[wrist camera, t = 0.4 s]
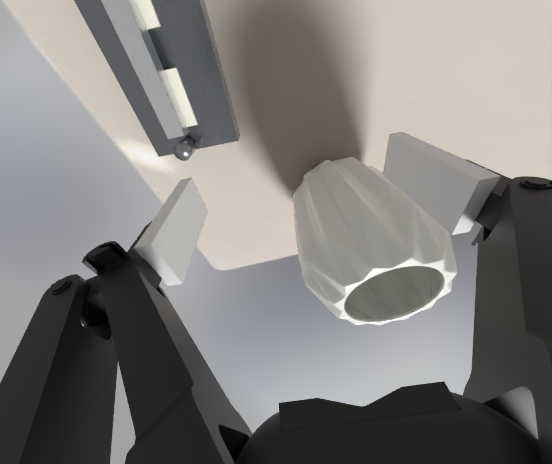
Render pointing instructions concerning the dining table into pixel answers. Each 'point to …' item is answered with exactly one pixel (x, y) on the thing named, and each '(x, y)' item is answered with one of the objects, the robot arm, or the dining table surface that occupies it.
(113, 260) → the robot arm
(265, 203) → the dining table surface
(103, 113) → the dining table surface
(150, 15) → the label
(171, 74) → the label
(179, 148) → the gray rectangular bar
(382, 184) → the vase
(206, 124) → the plate
